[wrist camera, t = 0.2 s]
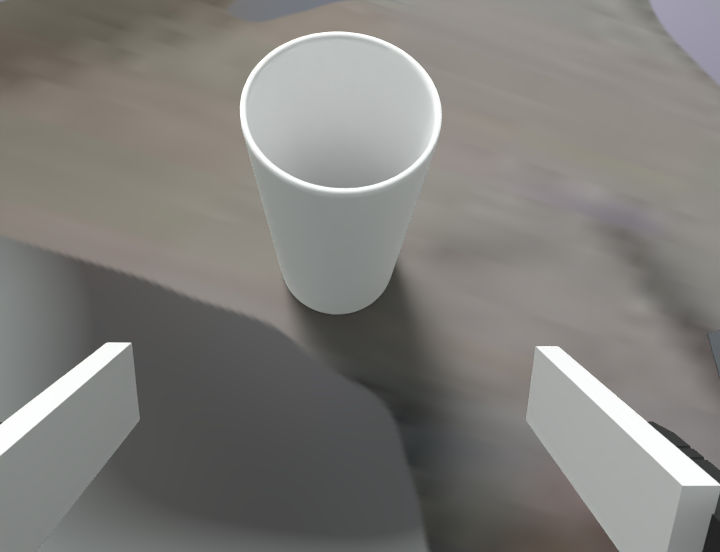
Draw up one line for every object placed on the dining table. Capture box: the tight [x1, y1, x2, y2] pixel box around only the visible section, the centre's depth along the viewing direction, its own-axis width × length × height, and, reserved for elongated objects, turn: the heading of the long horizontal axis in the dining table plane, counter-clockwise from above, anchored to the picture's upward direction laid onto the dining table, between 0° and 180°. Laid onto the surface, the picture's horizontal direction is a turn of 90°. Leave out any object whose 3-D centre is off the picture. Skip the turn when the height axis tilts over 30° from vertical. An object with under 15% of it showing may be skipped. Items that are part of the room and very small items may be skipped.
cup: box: [240, 32, 442, 314], centre depth 26 cm, size 8×8×16 cm
